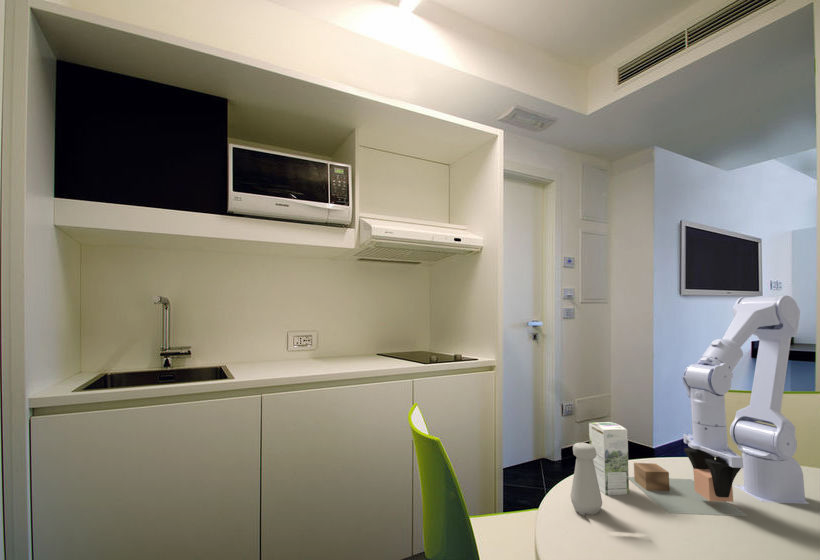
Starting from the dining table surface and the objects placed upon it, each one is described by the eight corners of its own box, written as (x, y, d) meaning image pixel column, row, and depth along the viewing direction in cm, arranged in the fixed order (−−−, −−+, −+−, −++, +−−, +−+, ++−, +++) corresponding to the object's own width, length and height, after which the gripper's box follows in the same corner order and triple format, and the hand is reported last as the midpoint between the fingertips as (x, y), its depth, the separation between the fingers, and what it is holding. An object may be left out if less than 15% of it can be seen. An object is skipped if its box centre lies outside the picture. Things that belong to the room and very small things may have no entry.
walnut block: (656, 481, 90) (655, 463, 91) (669, 491, 85) (668, 472, 86) (634, 480, 91) (633, 462, 91) (646, 490, 86) (645, 471, 86)
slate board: (691, 481, 92) (691, 479, 92) (749, 519, 75) (749, 516, 75) (626, 479, 93) (625, 476, 93) (668, 516, 76) (668, 512, 76)
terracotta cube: (716, 491, 82) (715, 469, 82) (733, 501, 77) (731, 478, 78) (694, 490, 82) (693, 468, 82) (709, 501, 78) (708, 477, 78)
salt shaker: (596, 505, 80) (594, 440, 81) (607, 520, 74) (605, 449, 75) (566, 503, 80) (565, 439, 81) (575, 518, 75) (573, 448, 76)
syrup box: (612, 485, 89) (610, 420, 91) (630, 497, 84) (627, 428, 85) (589, 486, 89) (587, 421, 90) (606, 498, 83) (603, 428, 84)
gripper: (668, 413, 88) (671, 475, 87) (713, 433, 74) (718, 507, 73) (700, 414, 88) (704, 476, 87) (752, 433, 74) (758, 508, 72)
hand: (713, 490), depth 80 cm, fingers closed on terracotta cube, 4 cm apart
